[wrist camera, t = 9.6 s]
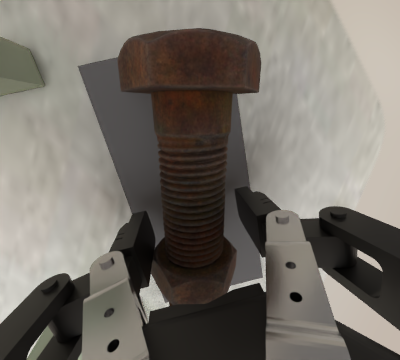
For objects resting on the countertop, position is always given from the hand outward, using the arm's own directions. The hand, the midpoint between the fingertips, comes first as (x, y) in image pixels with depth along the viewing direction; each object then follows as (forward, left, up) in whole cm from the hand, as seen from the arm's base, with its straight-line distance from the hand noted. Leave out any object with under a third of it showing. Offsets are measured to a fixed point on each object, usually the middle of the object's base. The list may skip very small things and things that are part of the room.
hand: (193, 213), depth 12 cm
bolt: (-1, 0, -1) cm, 1 cm away
